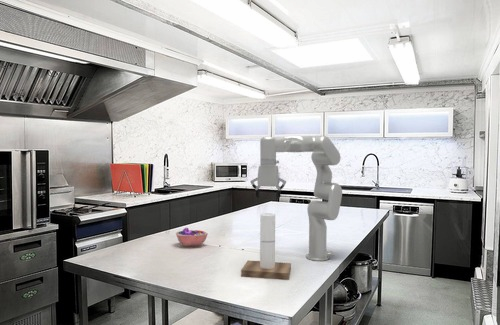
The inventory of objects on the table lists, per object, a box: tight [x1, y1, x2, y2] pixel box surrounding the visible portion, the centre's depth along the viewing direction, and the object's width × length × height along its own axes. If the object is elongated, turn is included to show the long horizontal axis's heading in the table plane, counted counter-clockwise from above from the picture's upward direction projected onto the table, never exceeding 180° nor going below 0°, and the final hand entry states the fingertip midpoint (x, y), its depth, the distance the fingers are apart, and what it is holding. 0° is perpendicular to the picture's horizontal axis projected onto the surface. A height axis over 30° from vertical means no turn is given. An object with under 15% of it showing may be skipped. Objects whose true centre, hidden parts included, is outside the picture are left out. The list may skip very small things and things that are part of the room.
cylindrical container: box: [259, 213, 276, 269], centre depth 171 cm, size 7×7×25 cm
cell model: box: [175, 227, 209, 247], centre depth 221 cm, size 17×20×11 cm
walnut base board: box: [240, 260, 292, 281], centre depth 171 cm, size 22×16×3 cm
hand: (268, 198), depth 171 cm, fingers open, 9 cm apart
